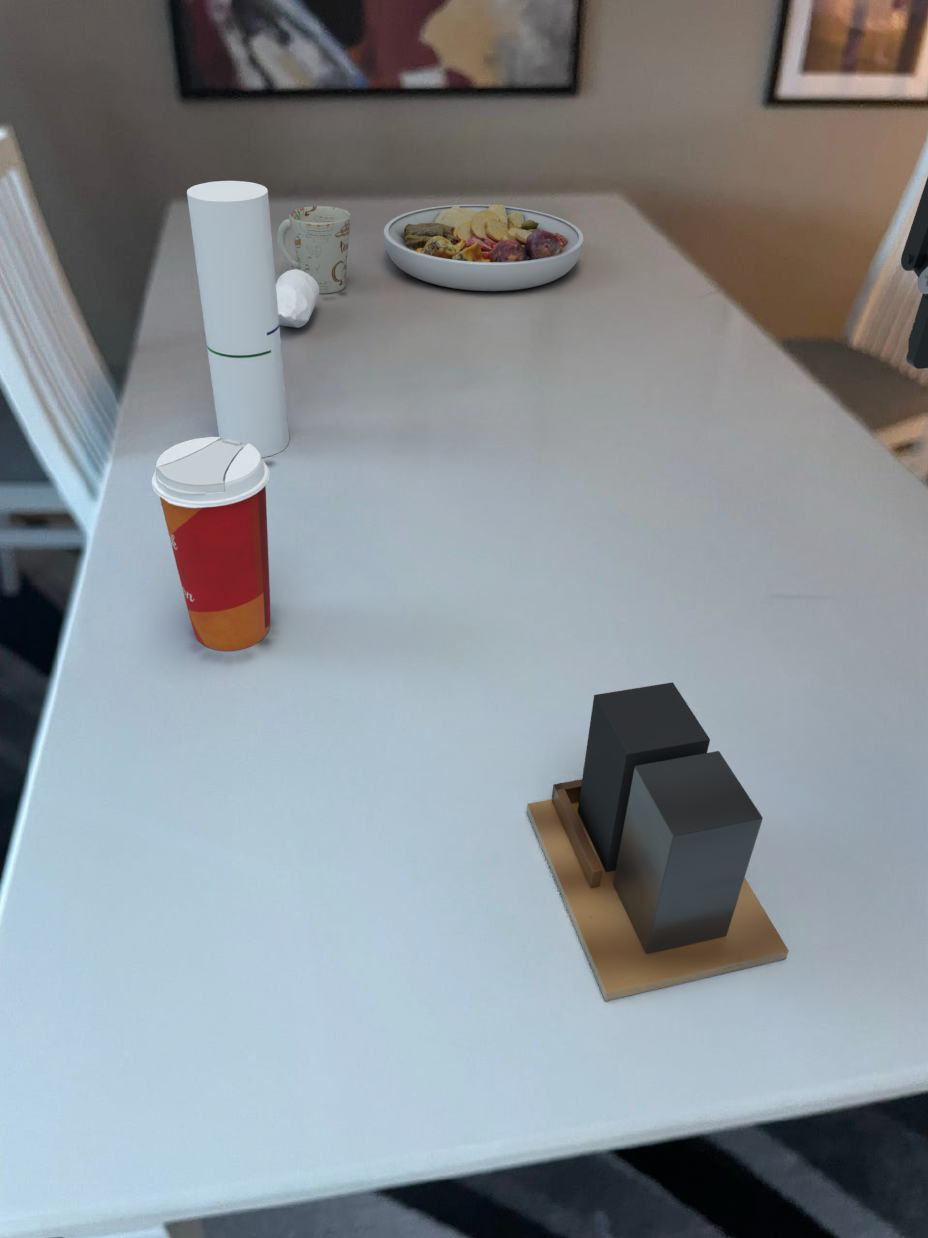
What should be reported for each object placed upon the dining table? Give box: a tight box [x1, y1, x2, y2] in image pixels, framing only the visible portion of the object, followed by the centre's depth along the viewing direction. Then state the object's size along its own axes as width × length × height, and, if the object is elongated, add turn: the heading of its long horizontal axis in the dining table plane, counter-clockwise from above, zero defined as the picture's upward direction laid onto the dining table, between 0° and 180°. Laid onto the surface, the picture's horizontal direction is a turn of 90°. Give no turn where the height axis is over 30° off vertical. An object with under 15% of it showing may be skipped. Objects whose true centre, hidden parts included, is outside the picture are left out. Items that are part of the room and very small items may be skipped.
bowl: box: [383, 203, 585, 292], centre depth 151 cm, size 30×30×8 cm
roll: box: [276, 268, 320, 329], centre depth 130 cm, size 6×12×6 cm, turn 178°
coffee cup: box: [151, 436, 271, 652], centre depth 75 cm, size 8×8×15 cm
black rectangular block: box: [578, 682, 711, 872], centre depth 60 cm, size 5×5×10 cm
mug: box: [276, 205, 351, 295], centre depth 141 cm, size 8×13×10 cm, turn 58°
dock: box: [526, 750, 790, 1002], centre depth 58 cm, size 14×11×11 cm
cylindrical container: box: [186, 180, 290, 458], centre depth 97 cm, size 7×7×25 cm
